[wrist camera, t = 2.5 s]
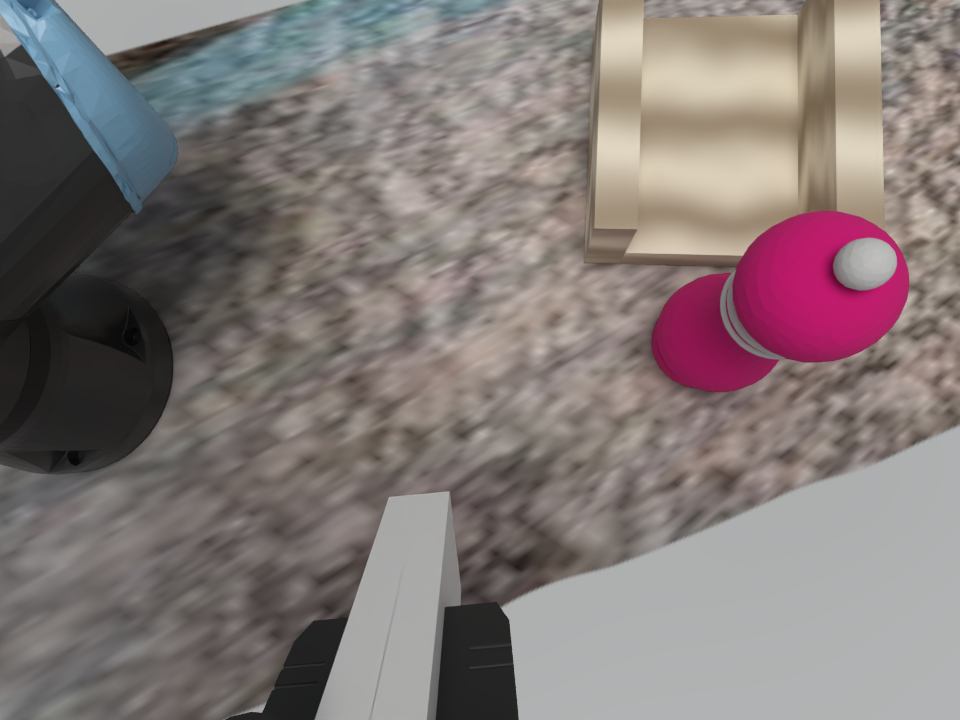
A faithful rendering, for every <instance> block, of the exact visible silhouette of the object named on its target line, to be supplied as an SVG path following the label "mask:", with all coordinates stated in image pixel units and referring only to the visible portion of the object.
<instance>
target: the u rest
mask: <svg viewBox="0 0 960 720" xmlns="http://www.w3.org/2000/svg"><path fill="white" fill-rule="evenodd" d="M643 17H644V0H599V4H598V11H597V17H596V24H595V31H594V38H593V46H592V71H591V97H590V123H589V148H588V174H587V199H586V225H585V251H584V263H613V264H652V265H690V266H729V267H737V264H738V263H739V261H740V260H741V258H742V256H743V255H744V253H745V252H746V250H747V248H748V247H749V246H750V245H751V244H752V243H753V241H754V240H755V239H756V238H757V237H758V236H759V235H761V234H762V233H764V232H765V231H766V230H768V229H769V228H770V227H772V226H774V225H776V224H778V223H780V222H782V221H784V220H786V219H788V218H790V217H793V216H796V215H799V214H803V213H809V212H815V211H839V212H843V213H847V214H852V215H856V216H860V217H862V218H864V219H866V220H868V221H870V222H872V223H874V224H875V225H877V226H878V227H880V228H881V229H882V230H884V231H885V220H884V174H883V129H882V83H881V37H880V0H807V1H806V2H805V4H804V5H803V7H802V8H801V10H800V11H799V13H798V15H762V16H722V17H681V18H643Z"/></svg>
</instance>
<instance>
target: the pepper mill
mask: <svg viewBox="0 0 960 720" xmlns="http://www.w3.org/2000/svg"><path fill="white" fill-rule="evenodd" d="M908 290H909V273H908V268H907V265H906V262H905V259H904V256H903V254H902V252H901V251H900V249H899V247H898V246H897V244H896V243H895V241H894V240H893V239H892V238H891V237H890V236H889V235H888V234H887V233H886V232H885V231H884V230H882V229H881V228H880V227H878V226H877V225H875V224H874V223H872V222H870V221H868V220H866V219H864V218H862V217H860V216H856V215H852V214H847V213H843V212H839V211H815V212H809V213H803V214H799V215H796V216H793V217H790V218H788V219H786V220H784V221H782V222H780V223H778V224H776V225H774V226H772V227H770V228H769V229H768V230H766V231H765V232H764V233H762V234H761V235H759V236H758V237H757V238H756V239H755V240H754V241H753V243H752V244H751V245H750V246H749V247H748V248H747V250H746V252H745V253H744V255H743V256H742V258H741V260H740V261H739V263H738V264H737V267H736V269H735V270H734V271H733V272H732V273H722V274H711V275H707V276H704V277H701V278H698V279H696V280H694V281H692V282H690V283H688V284H686V285H685V286H683V287H682V288H680V289H679V290H677V291H676V292H675V293H674V294H673V295H672V296H671V297H670V299H669V300H668V301H667V303H666V304H665V306H664V308H663V310H662V312H661V315H660V317H659V319H658V321H657V323H656V325H655V328H654V331H653V335H652V349H653V354H654V357H655V359H656V361H657V363H658V365H659V367H660V368H661V369H662V370H663V372H664V373H665V374H666V375H667V376H669V377H670V378H671V379H672V380H674V381H676V382H678V383H680V384H682V385H685V386H688V387H692V388H698V389H701V390H705V391H711V392H729V391H735V390H739V389H741V388H744V387H747V386H749V385H752V384H754V383H756V382H757V381H759V380H761V379H762V378H763V377H764V376H766V375H767V374H768V373H769V372H770V371H771V370H772V369H773V368H774V366H775V365H776V364H777V362H778V361H779V360H780V359H790V360H795V361H800V362H827V361H835V360H839V359H843V358H846V357H849V356H851V355H854V354H856V353H859V352H861V351H863V350H864V349H866V348H868V347H870V346H871V345H873V344H875V343H876V342H877V341H878V340H879V339H881V338H882V337H883V336H884V335H885V334H886V333H887V332H888V331H889V330H890V329H891V328H892V327H893V325H894V324H895V323H896V321H897V320H898V318H899V316H900V314H901V312H902V310H903V308H904V305H905V303H906V300H907V297H908Z"/></svg>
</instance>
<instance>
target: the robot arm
mask: <svg viewBox="0 0 960 720" xmlns="http://www.w3.org/2000/svg"><path fill="white" fill-rule="evenodd" d="M177 155H178V149H177V142H176V139H175V136H174V134H173V132H172V130H171V129H170V127H169V126H168V125H167V124H166V122H165V121H164V120H163V119H162V118H161V116H160V115H159V114H158V113H157V112H156V111H155V110H154V109H153V107H152V106H151V105H150V104H149V103H148V102H147V101H146V100H145V99H144V97H143V96H142V95H141V94H140V93H139V92H138V91H137V90H136V89H135V88H134V86H133V85H132V84H131V83H130V82H129V81H128V80H127V79H126V78H125V77H124V75H123V74H122V73H121V72H120V71H119V70H118V69H117V68H116V67H115V66H114V64H113V63H112V62H111V61H110V60H109V59H108V58H107V57H106V56H105V55H104V54H103V52H102V51H101V50H100V49H99V48H98V47H97V46H96V45H95V44H94V43H93V42H92V41H91V40H90V38H89V37H88V36H87V35H86V34H85V33H84V32H83V31H82V30H81V29H80V28H79V26H77V24H76V23H75V22H74V21H73V20H72V19H71V18H70V16H69V15H68V14H67V13H66V12H65V11H64V10H63V9H62V8H61V7H60V6H59V5H58V3H56V2H55V0H0V464H1V465H5V466H9V467H13V468H17V469H21V470H25V471H29V472H34V473H41V474H65V473H74V472H83V471H89V470H94V469H98V468H101V467H104V466H107V465H109V464H111V463H113V462H115V461H117V460H119V459H120V458H122V457H124V456H125V455H127V454H128V453H129V452H131V451H132V450H133V449H134V448H135V447H136V446H138V445H139V444H140V443H141V442H142V441H143V439H144V438H145V437H146V436H147V435H148V433H149V432H150V431H151V429H152V428H153V427H154V425H155V423H156V422H157V420H158V418H159V416H160V414H161V412H162V410H163V408H164V406H165V403H166V400H167V397H168V393H169V389H170V384H171V377H172V355H171V348H170V343H169V339H168V336H167V333H166V331H165V328H164V326H163V324H162V322H161V320H160V318H159V316H158V315H157V313H156V312H155V311H154V309H153V308H152V307H151V306H150V304H149V303H148V302H147V301H146V300H145V299H143V298H142V297H141V296H140V295H139V294H137V293H136V292H134V291H133V290H131V289H129V288H127V287H125V286H123V285H121V284H118V283H115V282H112V281H109V280H106V279H103V278H99V277H96V276H93V275H88V274H82V273H73V272H74V271H75V269H76V268H77V267H78V266H79V265H80V264H81V263H82V262H83V261H84V260H85V259H86V258H87V257H88V256H89V255H90V254H91V253H92V252H93V251H94V250H95V249H96V248H97V247H98V246H99V245H100V244H101V243H102V242H103V241H104V240H105V239H106V238H107V237H108V236H109V235H110V234H111V233H112V232H113V231H114V230H115V229H116V228H117V227H118V226H119V225H120V224H121V223H122V222H123V221H124V220H125V219H126V218H127V217H128V216H129V215H130V214H131V213H132V212H134V213H135V214H138V213H139V212H140V211H141V210H142V208H143V205H142V202H143V201H144V200H145V199H146V198H147V197H148V196H149V195H150V193H151V192H152V191H153V190H154V189H155V188H156V187H157V186H158V185H159V183H160V182H161V181H162V180H163V179H164V178H165V177H166V176H167V174H168V173H169V172H170V171H171V170H172V169H173V167H174V165H175V163H176V160H177ZM460 605H461V583H460V575H459V566H458V558H457V550H456V541H455V533H454V524H453V516H452V508H451V499H450V491H448V492H437V493H427V494H416V495H405V496H395V497H389V499H388V502H387V505H386V508H385V511H384V514H383V517H382V520H381V523H380V526H379V529H378V532H377V535H376V538H375V541H374V544H373V547H372V550H371V553H370V556H369V559H368V562H367V565H366V568H365V571H364V574H363V577H362V580H361V583H360V586H359V589H358V592H357V595H356V598H355V601H354V604H353V607H352V610H351V613H350V616H349V618H339V619H328V620H317V621H313V622H312V623H311V624H310V625H309V627H308V628H307V629H306V630H305V631H304V632H303V633H302V634H301V635H300V636H299V637H298V638H297V639H296V640H295V641H294V643H293V645H292V648H291V650H290V652H289V654H288V657H287V659H286V661H285V663H284V669H283V670H281V672H280V674H279V677H278V679H277V681H276V683H275V689H274V690H272V692H271V694H270V697H269V699H268V701H267V703H266V705H265V708H264V710H263V712H262V713H257V712H249V713H245V714H241V715H237V716H233V717H230V718H228V719H226V720H518V719H519V718H518V708H517V697H516V686H515V676H514V665H513V655H512V645H511V636H510V624H509V619H508V618H507V616H506V615H505V614H504V612H503V611H502V609H501V608H500V606H499V605H498V604H497V602H493V603H482V604H472V605H461V606H460Z"/></svg>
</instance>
